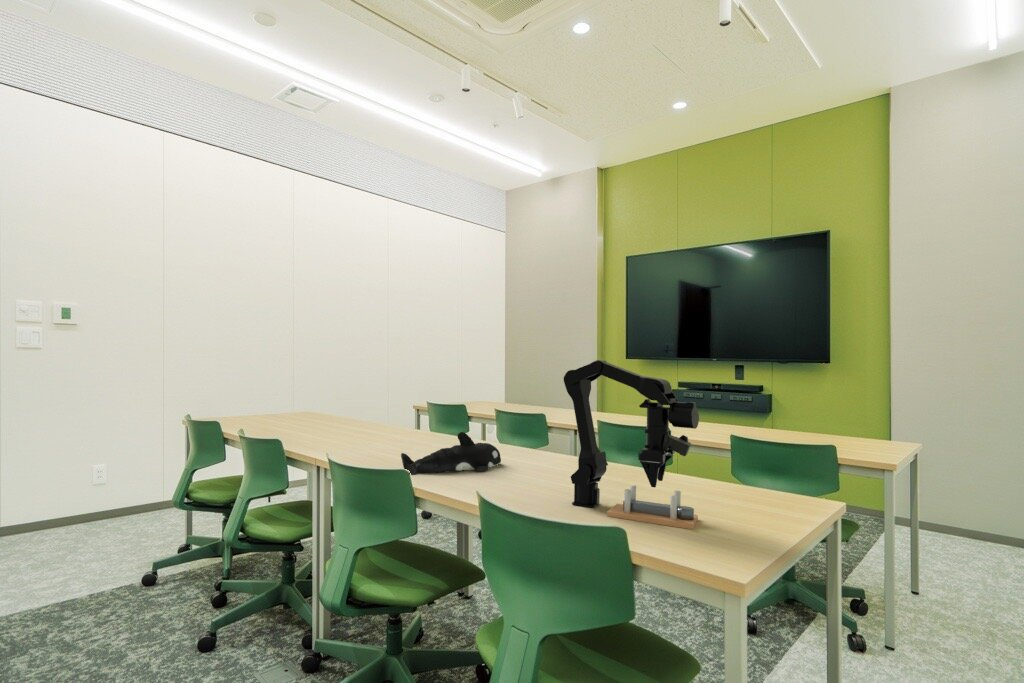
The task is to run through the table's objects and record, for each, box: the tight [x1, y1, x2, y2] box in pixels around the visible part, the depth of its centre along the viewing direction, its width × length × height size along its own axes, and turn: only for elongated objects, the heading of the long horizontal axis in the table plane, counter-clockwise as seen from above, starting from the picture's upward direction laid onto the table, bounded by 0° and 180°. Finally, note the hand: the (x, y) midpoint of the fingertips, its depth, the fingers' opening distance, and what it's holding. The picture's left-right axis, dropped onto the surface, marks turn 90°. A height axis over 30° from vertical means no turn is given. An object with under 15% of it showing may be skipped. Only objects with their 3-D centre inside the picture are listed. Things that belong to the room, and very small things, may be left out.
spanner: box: [622, 499, 695, 520], centre depth 141 cm, size 18×4×2 cm, turn 64°
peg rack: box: [606, 484, 699, 530], centre depth 142 cm, size 22×10×7 cm, turn 64°
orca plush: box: [400, 431, 502, 476], centre depth 204 cm, size 21×41×14 cm, turn 111°
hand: (657, 483), depth 142 cm, fingers open, 9 cm apart
